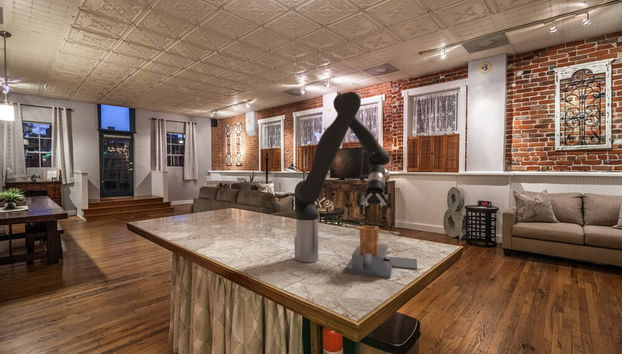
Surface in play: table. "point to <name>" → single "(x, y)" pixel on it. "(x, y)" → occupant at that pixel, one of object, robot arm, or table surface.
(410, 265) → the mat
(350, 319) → the table surface
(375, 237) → the sleeve
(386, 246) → the mechanical component
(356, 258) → the vise
